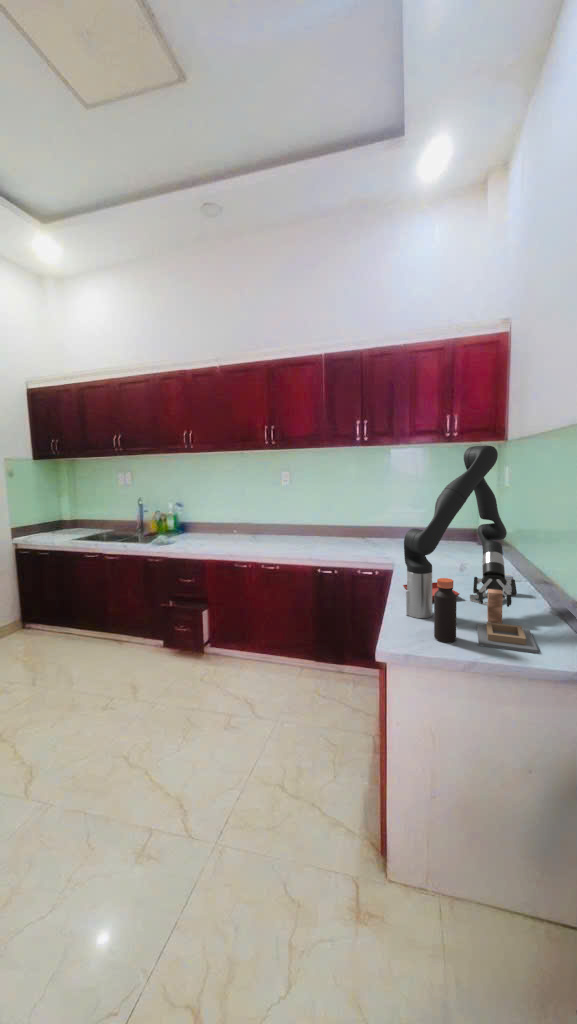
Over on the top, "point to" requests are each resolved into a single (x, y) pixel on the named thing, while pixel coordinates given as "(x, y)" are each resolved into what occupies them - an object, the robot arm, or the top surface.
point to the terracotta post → (494, 606)
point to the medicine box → (508, 577)
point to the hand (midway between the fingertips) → (495, 604)
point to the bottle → (445, 611)
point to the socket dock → (506, 637)
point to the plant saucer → (434, 590)
